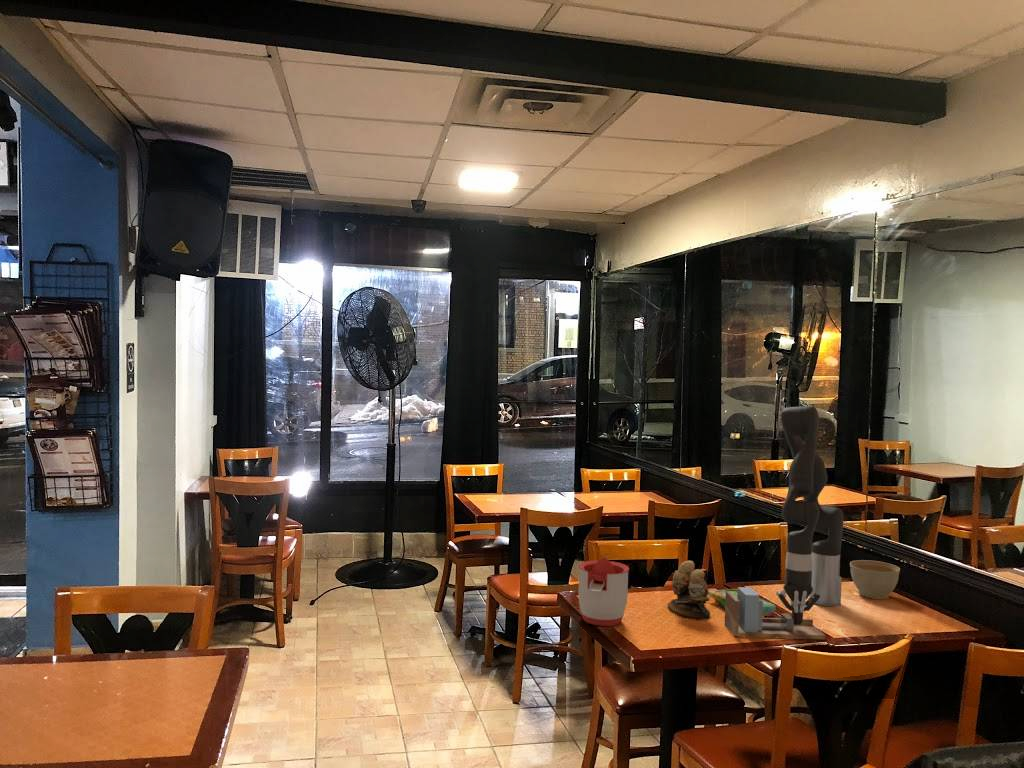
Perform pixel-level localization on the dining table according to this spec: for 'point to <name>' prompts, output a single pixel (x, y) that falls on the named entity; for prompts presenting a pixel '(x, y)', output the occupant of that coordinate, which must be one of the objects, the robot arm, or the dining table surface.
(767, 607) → the puzzle game
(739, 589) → the pale blue block
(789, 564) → the robot arm
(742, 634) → the shelf
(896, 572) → the planter bowl
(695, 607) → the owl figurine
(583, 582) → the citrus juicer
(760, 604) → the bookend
